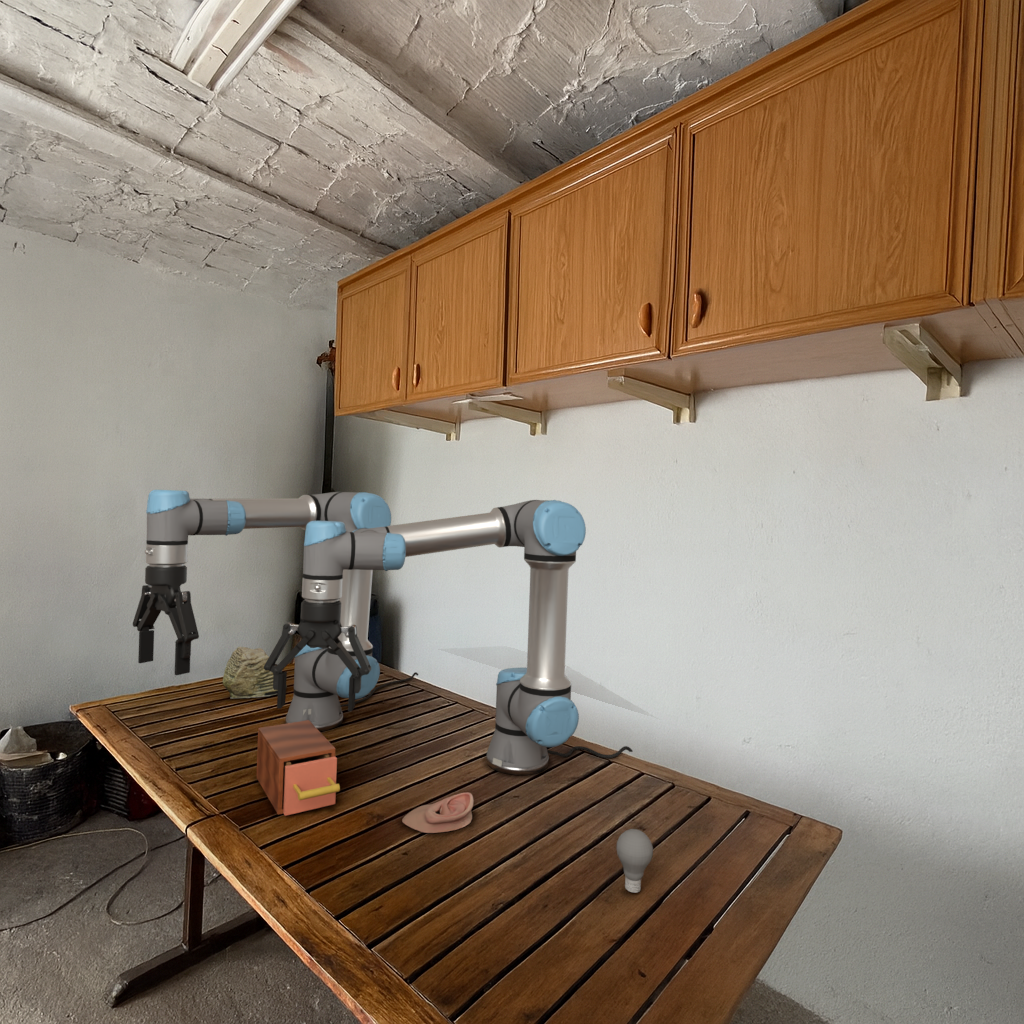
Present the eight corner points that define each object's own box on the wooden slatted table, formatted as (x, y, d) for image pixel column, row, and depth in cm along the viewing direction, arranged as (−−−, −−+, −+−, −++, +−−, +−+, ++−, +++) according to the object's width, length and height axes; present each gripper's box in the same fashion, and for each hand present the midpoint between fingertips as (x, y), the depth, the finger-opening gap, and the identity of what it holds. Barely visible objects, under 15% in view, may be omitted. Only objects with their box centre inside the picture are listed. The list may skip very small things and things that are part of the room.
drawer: (344, 815, 125) (346, 768, 124) (292, 828, 119) (294, 779, 119) (309, 770, 144) (311, 729, 144) (263, 780, 138) (265, 737, 138)
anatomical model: (396, 808, 122) (417, 782, 133) (395, 828, 122) (416, 801, 133) (463, 818, 119) (478, 791, 130) (462, 839, 119) (477, 810, 131)
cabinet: (333, 801, 132) (335, 748, 132) (277, 814, 126) (279, 758, 125) (307, 767, 148) (308, 719, 147) (256, 777, 141) (258, 727, 141)
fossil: (218, 695, 195) (220, 647, 195) (278, 685, 208) (279, 640, 207) (228, 703, 189) (230, 653, 188) (289, 692, 201) (290, 645, 201)
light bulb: (610, 879, 108) (613, 822, 108) (644, 879, 109) (647, 822, 109) (619, 902, 102) (622, 840, 102) (655, 901, 103) (658, 840, 103)
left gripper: (116, 560, 133) (113, 660, 134) (183, 572, 120) (179, 683, 121) (152, 558, 140) (149, 654, 140) (219, 569, 126) (216, 674, 127)
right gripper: (249, 599, 119) (244, 711, 120) (382, 605, 120) (377, 716, 121) (263, 593, 127) (258, 699, 127) (388, 599, 128) (383, 704, 128)
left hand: (163, 667), depth 130 cm, fingers open, 13 cm apart
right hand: (316, 707), depth 124 cm, fingers open, 13 cm apart
